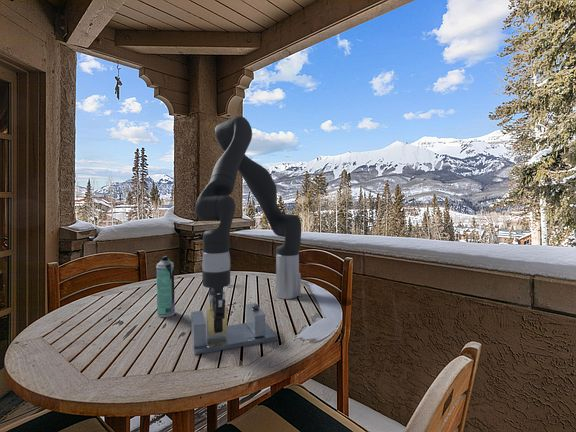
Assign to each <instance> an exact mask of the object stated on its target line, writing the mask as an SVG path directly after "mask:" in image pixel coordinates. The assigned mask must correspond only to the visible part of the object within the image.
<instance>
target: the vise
mask: <svg viewBox="0 0 576 432" xmlns="http://www.w3.org/2000/svg"><path fill="white" fill-rule="evenodd" d="M204 313H205V312H203V310H197V311H196V310H195V311H191V312H190V315H191V316H190V318H191V319H190V320H191V322H190V323H191V324H190V325H191V326H190V327H191V330H190V333H191V335H190V336H191V341H192V348H193V354H194V355H200V354H201V355H202V354H207V353H211V352H218V351H224V350H230V349H235V348H242V347H247V346H253V345H258V344H264V343H269V342H270V343H272V342H276V341H278V336H277V334H276V333H275V332H274V330H273V329H272V328H271V326H269V325H268V323H267V322H266V321H265V336H259V337H254V335H253V333H252V332H251V330H250V328H249V327H248V325H247V324H246V322H245V323H243V322H242V323H239V324H237V323H236V324H231V325H230V324H229V325H227V333H224V334H217V335H211V336H209V335H208V332H207V319H206V316H205V314H204Z"/></svg>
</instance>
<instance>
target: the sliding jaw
mask: <svg viewBox="0 0 576 432" xmlns="http://www.w3.org/2000/svg"><path fill="white" fill-rule="evenodd" d="M245 306H246V307H245V308H246V312H245V313H246V319H245V321H246V322H245V323H246V324H247V325H248V327H249V328H250V330H251V332H252V333H253V335H254V337H259V336H265V322H266V313H265V312H264V311H263V310H262V308H261V307H260V305H259V304H258V303H257V302H252V303H246V304H245Z"/></svg>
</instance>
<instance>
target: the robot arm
mask: <svg viewBox="0 0 576 432" xmlns="http://www.w3.org/2000/svg"><path fill="white" fill-rule="evenodd" d="M214 127H215V128H214V134H215V138H216V141H217V142H218V144H219V146H220V147H221V149H222V151H224V152H223V153H222V155H221V156H220V157H219V158H218V160H217V161H216V163H215V165H214V167H213V170H212V172H211V175H210V179H209V181H208V183H207V184H206V185H205V188H203V190H202V191H201V193H200V194H199V196H198V197H197V199H196V202H195V206H194V211H195V215H196V217H197V218H198V219H199V220H200V221H202V222H219V226H218V227H217V228H212V229H208V230H205V231H204V232H203V233H202V260H201V261H202V262H201V263H202V264H201V266H202V270H201V271H202V274H201V275H202V279H201V280H202V286H203V287H204V288H208V297H209V305H211V309H212V311H214V317H213V319H214V332H215V333H220V332H222V331H223V319H224V317H225V305H226V303H227V302H226V299H225V298H226V291H224V289H223V288H225V287H227V286H229V285H231V256H230V233H231V228H232V224H233V220H234V217H235V213H236V202H235V200H234V199H233V197H232V196H230V195H231V194H232V193H233V191H234V189H235V185H236V184H235V183H236V179H237V176H238V172H239V174H240V176H242V178H243V180H244V181H245V184H246V185H247V187H248V189H249V191H250V192H251V193H252V195H253V197H254V198H255V200H256V201H257V203H258V205H259V206H260V208H261V210H262V211H263V214H264V215H265V218H266V220H267V222H268V223H269V226H270V228H271V230H272V231H273V233H274V235H276V236H278V237H282V238H284V243H283V244H282V245H278V246H277V247H276V249H275V260H276V261H275V270H276V271H275V276H276V277H275V279H276V283H275V284H276V285H275V293H276V294H275V295H276V297H277V298H278V299H283V300H291V299H292V298H293V299H296V298H295V297H297V296H299V297H301V296H300V295H302V294H301V293H302V292H301V289H302V288H301V287H302V285H301V284H302V283H301V282H302V277H301V275H302V274H301V272H300V260H299V259H300V249H301V243H302V242H301V241H302V221H301V219H300V217H299V216H298V215H296V214H284V213H283V212H282V211H281V209H280V208H279V206H278V203H277V195H278V194H277V193H278V191H277V189H278V188H277V185H276V183H275V181H274V179H273V177H272V175H271V174H270V172H269V170H267V169H266V167H264V166H262V165H261V164H259V163H258V162H256V161H254V160H253V159H251V158H250V157H248V156H247V155H246V152H247V150H248V148H249V145H250V144H251V142H252V138H253V129H252V126H251V124H250V122H249V121H248V119H247V118H246V117H244V116H240V115H239V116H235V117H232V118H230V119H227V120H225V121H223V122H220V123H218V124H217V125H216V126H214ZM297 298H298V297H297ZM293 299H292V300H293ZM214 306H215V307H214ZM220 312H221V314H219V315H217V313H220Z"/></svg>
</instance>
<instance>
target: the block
mask: <svg viewBox="0 0 576 432" xmlns="http://www.w3.org/2000/svg"><path fill="white" fill-rule="evenodd" d="M214 307H215V306H214ZM219 314H221V312H220V313H217V315H219ZM213 317H214V311H212V309H211V305H210V304H209V305H206V323H207V332H208V335H209V336H211V335H217V334H224V333H227V326H228V307H227V306H226V304H225V317H224V319H223V331H222V332H220V333H215V332H214V319H213Z"/></svg>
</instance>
